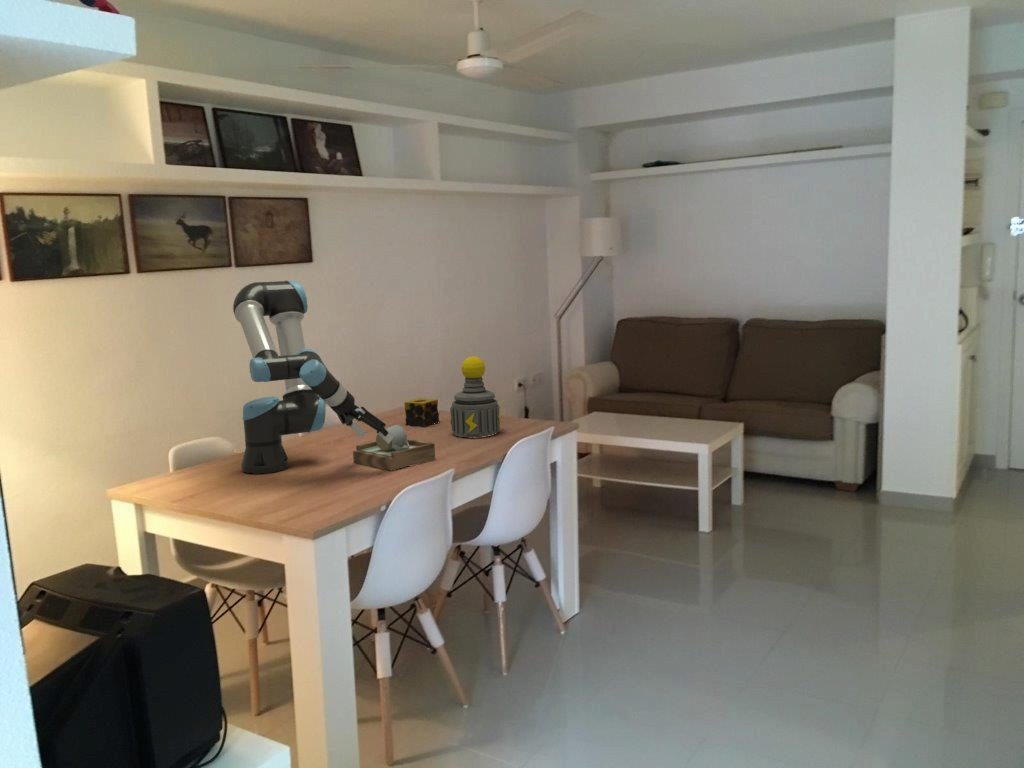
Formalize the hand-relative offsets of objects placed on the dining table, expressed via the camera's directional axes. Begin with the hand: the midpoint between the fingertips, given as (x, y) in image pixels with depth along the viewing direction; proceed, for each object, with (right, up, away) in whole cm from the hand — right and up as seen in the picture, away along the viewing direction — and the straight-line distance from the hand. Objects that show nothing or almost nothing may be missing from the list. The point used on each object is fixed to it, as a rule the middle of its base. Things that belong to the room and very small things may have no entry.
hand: (377, 437), depth 278 cm
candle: (+8, +1, +68) cm, 69 cm away
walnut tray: (+5, -8, +7) cm, 12 cm away
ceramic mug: (+5, -4, +4) cm, 8 cm away
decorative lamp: (+31, -2, +46) cm, 55 cm away
